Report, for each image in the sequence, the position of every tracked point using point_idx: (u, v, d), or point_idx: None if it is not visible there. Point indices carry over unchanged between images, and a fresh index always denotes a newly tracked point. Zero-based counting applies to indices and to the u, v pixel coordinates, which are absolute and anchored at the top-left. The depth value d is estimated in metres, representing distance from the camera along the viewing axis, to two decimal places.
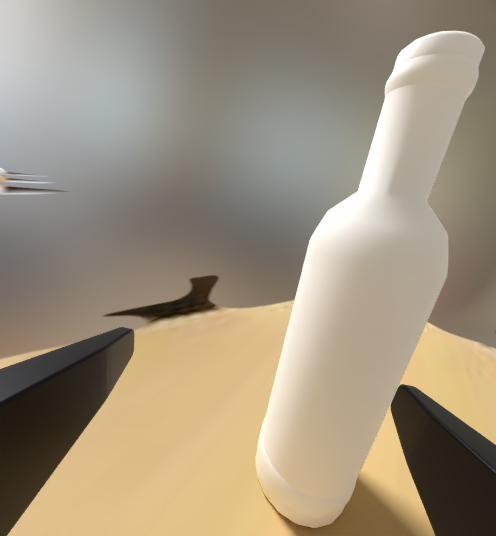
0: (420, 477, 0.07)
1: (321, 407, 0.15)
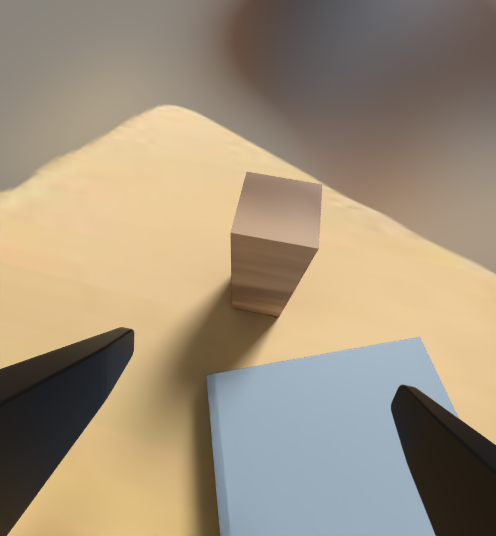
0: (420, 476, 0.07)
1: None
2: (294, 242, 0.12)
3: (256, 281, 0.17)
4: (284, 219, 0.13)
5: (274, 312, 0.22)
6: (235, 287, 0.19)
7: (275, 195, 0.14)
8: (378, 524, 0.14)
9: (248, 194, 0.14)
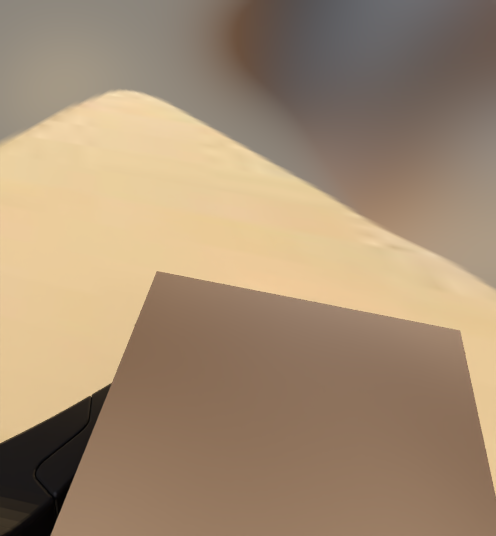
0: None
1: None
2: None
3: None
4: None
5: None
6: None
7: (268, 409, 0.03)
8: None
9: (139, 408, 0.03)
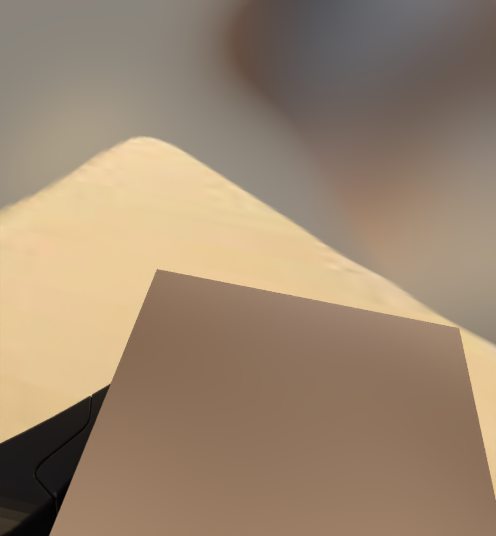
0: None
1: None
2: None
3: None
4: None
5: None
6: None
7: (268, 406, 0.03)
8: None
9: (140, 403, 0.03)
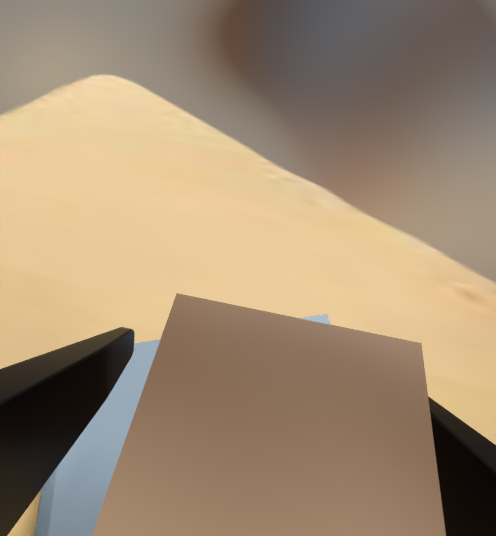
0: None
1: None
2: None
3: None
4: None
5: None
6: None
7: (265, 405, 0.04)
8: None
9: (167, 402, 0.04)
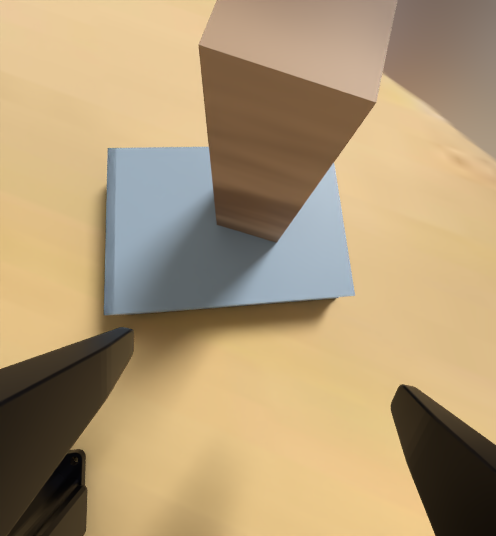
0: (420, 477, 0.07)
1: None
2: (328, 82, 0.06)
3: (249, 181, 0.11)
4: (316, 33, 0.06)
5: (271, 236, 0.17)
6: (218, 192, 0.13)
7: None
8: (242, 270, 0.17)
9: None
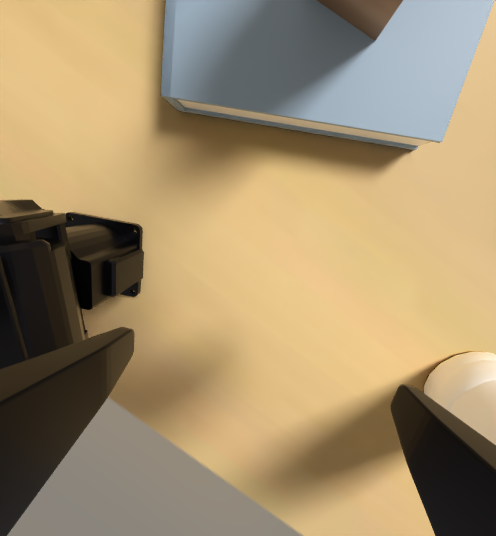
0: (420, 476, 0.07)
1: None
2: None
3: None
4: None
5: (373, 22, 0.12)
6: None
7: None
8: (318, 74, 0.14)
9: None
